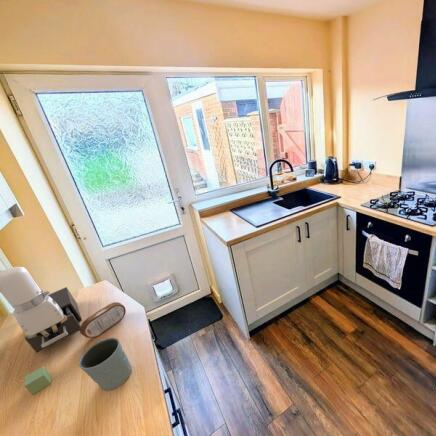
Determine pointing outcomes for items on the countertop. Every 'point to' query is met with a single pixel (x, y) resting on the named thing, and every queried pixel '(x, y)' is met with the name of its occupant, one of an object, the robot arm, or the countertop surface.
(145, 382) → the countertop surface
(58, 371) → the countertop surface
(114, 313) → the tin
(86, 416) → the countertop surface
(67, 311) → the dark grey sliding drawer
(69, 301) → the small drawer box
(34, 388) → the cube
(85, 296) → the countertop surface
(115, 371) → the grey green cup
